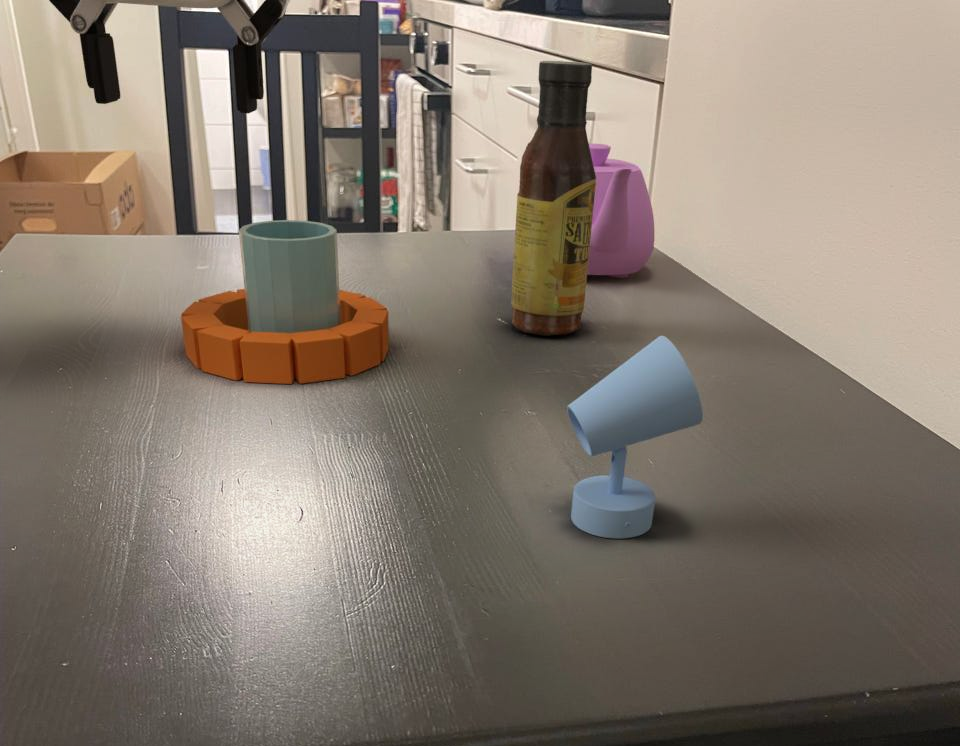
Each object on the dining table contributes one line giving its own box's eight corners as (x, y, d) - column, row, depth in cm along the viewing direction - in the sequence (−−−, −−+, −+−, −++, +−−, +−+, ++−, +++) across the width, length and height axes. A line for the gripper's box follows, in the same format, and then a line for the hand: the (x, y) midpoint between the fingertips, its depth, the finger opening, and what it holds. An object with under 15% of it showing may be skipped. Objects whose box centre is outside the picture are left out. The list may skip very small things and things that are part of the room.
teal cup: (242, 363, 73) (229, 237, 68) (262, 335, 79) (251, 218, 74) (334, 367, 73) (327, 241, 68) (347, 339, 79) (342, 222, 74)
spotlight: (658, 494, 57) (546, 504, 55) (684, 322, 51) (560, 327, 49) (694, 533, 53) (574, 544, 51) (726, 351, 47) (593, 357, 46)
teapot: (507, 249, 108) (512, 131, 101) (621, 249, 110) (634, 133, 104) (548, 297, 92) (557, 161, 85) (681, 296, 94) (700, 162, 87)
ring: (162, 378, 70) (155, 337, 68) (218, 318, 83) (214, 282, 81) (373, 388, 70) (372, 346, 68) (397, 326, 83) (396, 290, 81)
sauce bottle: (570, 343, 80) (594, 66, 69) (499, 333, 82) (511, 61, 71) (590, 323, 85) (615, 61, 74) (523, 313, 87) (538, 57, 76)
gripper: (-32, -244, 54) (30, 103, 64) (276, -222, 54) (292, 121, 64) (24, -220, 60) (73, 93, 70) (301, -200, 61) (312, 109, 70)
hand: (178, 106), depth 67 cm, fingers open, 9 cm apart
